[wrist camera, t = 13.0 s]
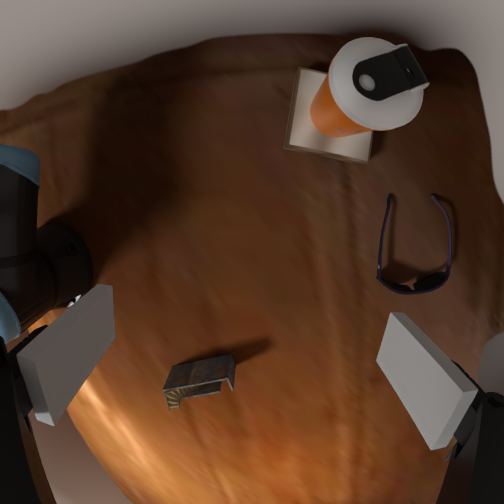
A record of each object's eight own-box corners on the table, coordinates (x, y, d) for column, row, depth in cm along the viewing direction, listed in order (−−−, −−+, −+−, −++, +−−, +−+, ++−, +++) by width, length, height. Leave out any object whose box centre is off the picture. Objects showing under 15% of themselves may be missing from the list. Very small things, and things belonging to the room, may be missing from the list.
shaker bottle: (289, 104, 40) (316, 52, 20) (339, 73, 38) (394, 12, 19) (329, 156, 41) (386, 145, 22) (376, 123, 40) (455, 95, 21)
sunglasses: (369, 288, 51) (380, 300, 46) (371, 193, 47) (383, 195, 42) (436, 281, 50) (450, 290, 45) (441, 193, 47) (457, 195, 42)
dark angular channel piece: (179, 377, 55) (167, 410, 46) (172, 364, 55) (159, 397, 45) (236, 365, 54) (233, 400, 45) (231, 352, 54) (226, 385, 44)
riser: (283, 148, 45) (286, 146, 41) (295, 74, 42) (298, 66, 38) (359, 165, 46) (369, 164, 41) (369, 93, 43) (379, 86, 39)
